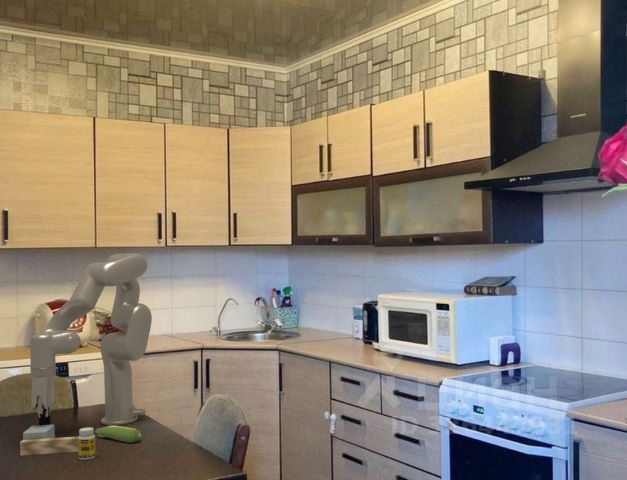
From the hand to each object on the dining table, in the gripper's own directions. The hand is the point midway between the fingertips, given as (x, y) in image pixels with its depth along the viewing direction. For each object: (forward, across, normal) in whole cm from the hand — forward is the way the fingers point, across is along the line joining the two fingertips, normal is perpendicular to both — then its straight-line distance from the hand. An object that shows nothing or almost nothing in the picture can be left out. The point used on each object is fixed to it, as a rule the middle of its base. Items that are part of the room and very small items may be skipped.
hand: (45, 428), depth 220 cm
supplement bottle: (+4, +21, +18) cm, 28 cm away
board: (+4, +13, +7) cm, 15 cm away
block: (+4, +6, 0) cm, 8 cm away
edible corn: (+5, +2, +23) cm, 24 cm away
